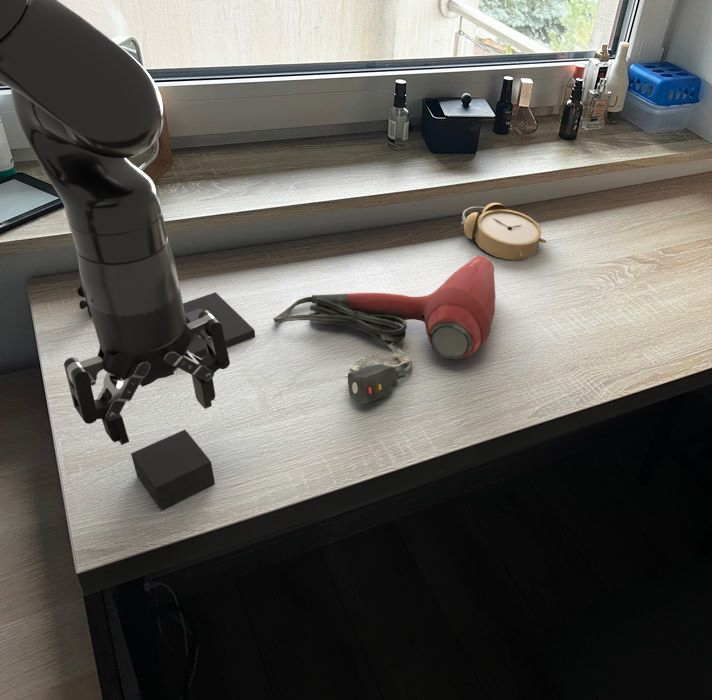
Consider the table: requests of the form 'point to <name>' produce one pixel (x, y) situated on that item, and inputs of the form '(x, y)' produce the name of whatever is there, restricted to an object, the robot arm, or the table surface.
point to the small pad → (173, 469)
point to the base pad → (225, 315)
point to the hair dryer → (438, 311)
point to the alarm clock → (503, 231)
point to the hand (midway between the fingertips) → (164, 420)
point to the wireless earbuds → (83, 303)
